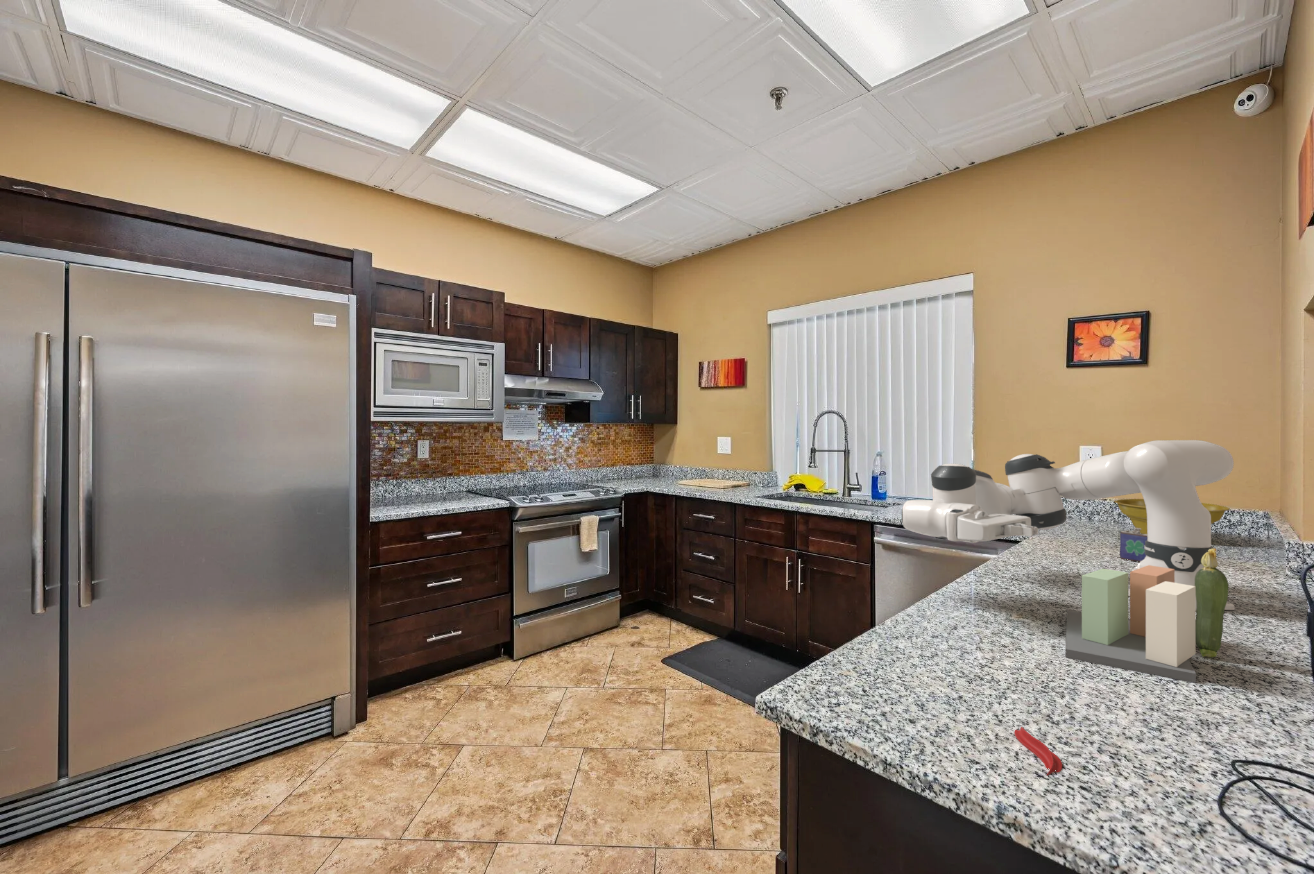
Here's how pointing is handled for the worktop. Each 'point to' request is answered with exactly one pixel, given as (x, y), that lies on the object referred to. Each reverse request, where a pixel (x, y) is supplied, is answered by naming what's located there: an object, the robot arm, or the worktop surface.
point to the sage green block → (1104, 606)
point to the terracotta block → (1144, 593)
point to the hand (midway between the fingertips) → (1034, 532)
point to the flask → (1132, 545)
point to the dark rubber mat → (1119, 652)
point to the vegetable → (1210, 605)
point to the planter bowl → (1139, 514)
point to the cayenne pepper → (1039, 750)
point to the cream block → (1170, 623)
